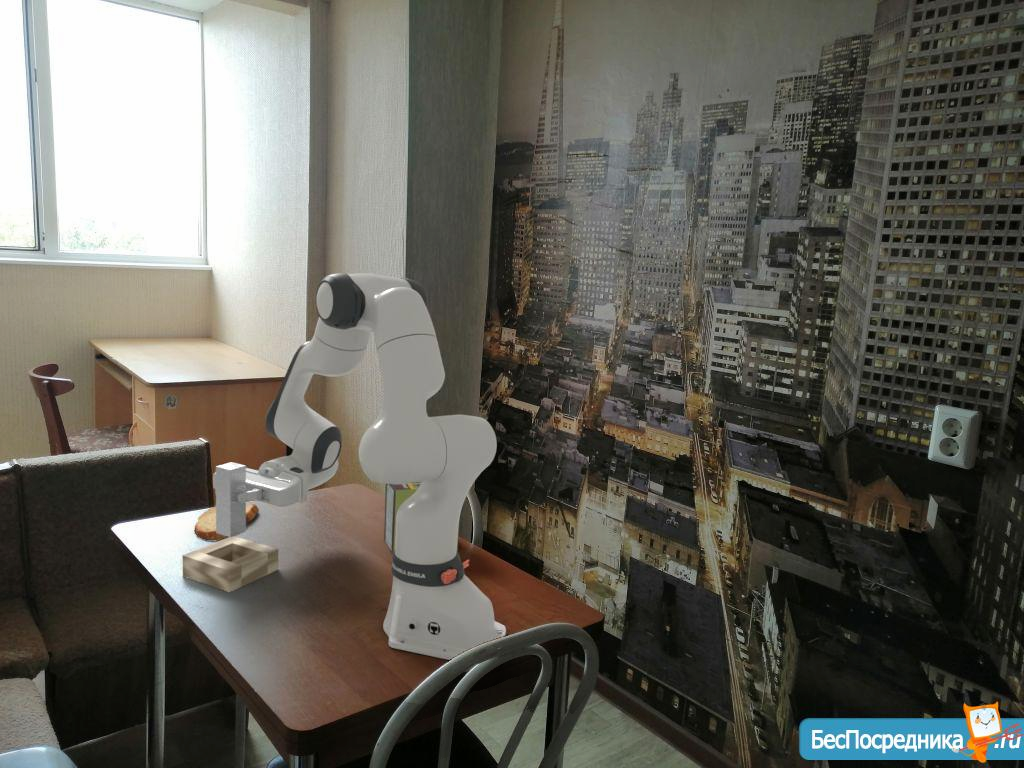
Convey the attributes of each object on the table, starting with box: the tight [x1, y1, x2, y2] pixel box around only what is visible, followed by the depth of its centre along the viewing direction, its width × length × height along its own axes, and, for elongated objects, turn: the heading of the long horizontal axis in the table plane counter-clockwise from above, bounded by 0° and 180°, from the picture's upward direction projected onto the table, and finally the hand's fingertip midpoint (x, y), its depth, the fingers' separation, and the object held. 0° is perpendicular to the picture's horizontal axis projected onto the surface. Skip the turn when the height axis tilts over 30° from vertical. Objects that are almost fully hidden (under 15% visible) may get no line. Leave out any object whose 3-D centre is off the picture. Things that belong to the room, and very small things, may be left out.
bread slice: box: [193, 503, 260, 541], centre depth 180 cm, size 18×18×4 cm
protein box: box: [383, 481, 460, 555], centre depth 173 cm, size 10×15×16 cm
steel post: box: [215, 461, 247, 538], centre depth 151 cm, size 4×4×14 cm
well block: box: [182, 535, 279, 593], centre depth 154 cm, size 13×13×4 cm
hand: (227, 495), depth 150 cm, fingers closed on steel post, 4 cm apart
